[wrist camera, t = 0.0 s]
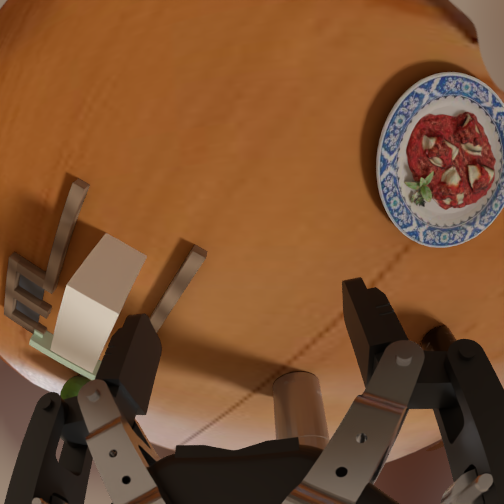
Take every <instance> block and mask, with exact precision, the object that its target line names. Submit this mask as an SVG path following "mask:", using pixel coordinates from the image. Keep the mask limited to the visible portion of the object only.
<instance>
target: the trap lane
mask: <svg viewBox="0 0 504 504" xmlns="http://www.w3.org/2000/svg"><path fill="white" fill-rule="evenodd" d="M89 186H90V185H89V184H87V183H86V182H84V181H82V180H81V179H79V178H78V179H77V180H76V181H74V182H73V183H72V186H71V189H70V192H69V195H68V197H67V200H66V203H65V206H64V210H63V213H62V216H61V219H60V222H59V226H58V229H57V232H56V236H55V240H54V243H53V247H52V251H51V254H50V258H49V262H48V266H47V271H46V272H45V271H43V270H41V269H40V268H38V267H37V266H35V265H34V264H32V263H31V262H29V261H28V260H26V259H24V258H23V257H21V256H20V255H19V254H17V253H16V252H14V253H13V254H12V255H11V256H10V257H9V261H8V270H7V279H6V290H5V304H4V315H6V316H7V317H8V318H10V319H11V320H13V321H14V322H16V323H17V324H19V325H20V326H22V327H23V328H25V329H26V330H28V331H30V332H31V333H33V334H34V330H35V329H36V330H38V331H40V332H41V333H43V336H44V334H45V333H46V331H47V328H46V327H45V326H43V325H42V324H40V323H38V321H39V315H41V316H43V317H44V318H46V319H47V317H48V316H49V314H50V312H51V308H52V306H51V305H50V304H48V303H46V302H45V301H43V300H42V299H43V295H44V290H46V291H48V292H49V293H51V294H52V293H53V292H54V290H55V289H56V287H57V283H58V280H59V276H60V272H61V269H62V265H63V262H64V258H65V255H66V252H67V249H68V245H69V242H70V239H71V236H72V233H73V230H74V227H75V224H76V221H77V218H78V215H79V213H80V210H81V207H82V204H83V202H84V199H85V196H86V194H87V191H88V189H89ZM206 256H207V251H206V250H204V249H202V248H200V247H198V246H197V245H194V247H193V248H192V250H191V251H190V253H189V255H188V256H187V258H186V259H185V261H184V263H183V264H182V266H181V267H180V269H179V271H178V272H177V274H176V275H175V277H174V279H173V280H172V282H171V283H170V285H169V287H168V288H167V290H166V292H165V293H164V295H163V297H162V298H161V300H160V302H159V303H158V305H157V307H156V308H155V310H154V312H153V313H152V315H151V317H150V318H149V319H150V321H151V323H152V325H153V327H154V329H155V331H156V333H157V332H158V330H159V329H160V327H161V325H162V324H163V322H164V321H165V319H166V318H167V316H168V315H169V313H170V312H171V310H172V309H173V307H174V305H175V304H176V302H177V301H178V299H179V298H180V296H181V295H182V293H183V292H184V290H185V289H186V287H187V286H188V284H189V283H190V281H191V280H192V278H193V277H194V275H195V274H196V272H197V271H198V269H199V268H200V266H201V265H202V263H203V262H204V260H205V259H206ZM19 277H20V279H19ZM16 301H17V303H16Z"/></svg>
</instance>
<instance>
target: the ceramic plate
mask: <svg viewBox="0 0 504 504" xmlns="http://www.w3.org/2000/svg"><path fill="white" fill-rule="evenodd" d="M376 176H377V184H378V189H379V194H380V197H381V200H382V203H383V206H384V208H385V210H386V212H387V214H388V216H389V217H390V219H391V221H392V222H393V223H394V225H395V226H396V227H397V228H398V229H399V230H400V231H401V232H402V233H403V234H404V235H405V236H407V237H408V238H410V239H411V240H413V241H415V242H417V243H419V244H422V245H425V246H429V247H442V248H444V247H451V246H455V245H459V244H462V243H464V242H466V241H469V240H470V239H472V238H474V237H476V236H477V235H479V234H480V233H481V232H482V231H484V230H485V229H486V228H487V227H488V226H489V225H490V224H491V223H492V222H493V221H494V220H495V218H496V217H497V216H498V214H499V213H500V212H501V210H502V209H503V207H504V104H503V102H502V101H501V99H500V98H499V97H498V95H497V94H496V93H495V92H494V91H493V90H492V89H491V88H490V87H489V86H487V85H486V84H485V83H483V82H482V81H480V80H479V79H477V78H475V77H473V76H470V75H467V74H463V73H458V72H443V73H438V74H434V75H431V76H428V77H426V78H424V79H422V80H420V81H418V82H417V83H415V84H414V85H412V86H411V87H410V88H409V89H408V90H407V91H406V92H405V93H404V94H403V95H402V96H401V97H400V98H399V99H398V101H397V102H396V103H395V105H394V107H393V108H392V110H391V111H390V113H389V115H388V117H387V119H386V122H385V124H384V126H383V129H382V132H381V135H380V139H379V144H378V149H377V157H376Z"/></svg>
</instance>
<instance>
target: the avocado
mask: <svg viewBox="0 0 504 504" xmlns="http://www.w3.org/2000/svg"><path fill="white" fill-rule="evenodd" d="M89 381H91V380H89V379H88V378H86V377H85V376H74V377H72V378H70V379H69V380H68V381H67V382H66V383H65V384H64V386H63V388H62V390H61V394H60V396H61V398H62V399H67V398H71V397H74V396H78V393H79V391H80V389H81V388H82V386H83V385H85V384H86V383H87V382H89Z"/></svg>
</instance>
